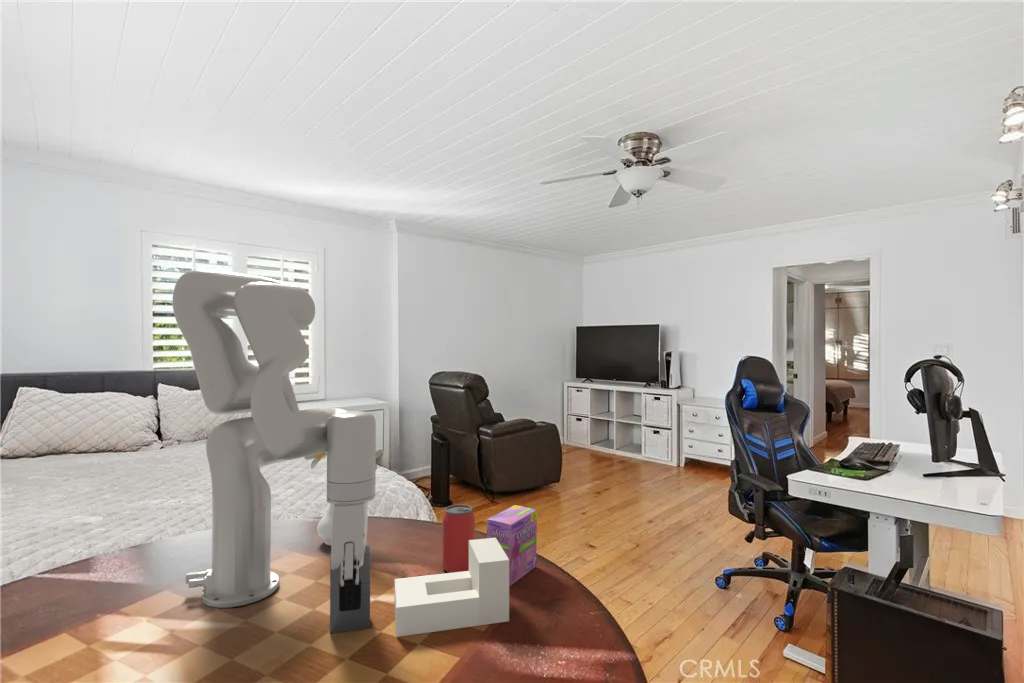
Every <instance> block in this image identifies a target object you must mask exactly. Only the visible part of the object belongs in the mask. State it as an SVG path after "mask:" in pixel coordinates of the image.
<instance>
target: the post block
mask: <svg viewBox="0 0 1024 683" xmlns="http://www.w3.org/2000/svg"><path fill="white" fill-rule="evenodd" d="M394 620H395V637H397V638H399V637H407V636H413V635H420V634H427V633H433V632H434V633H436V632H441V631H442V632H443V631H448V630H456V629H464V628H470V627H478V626H484V625H485V626H486V625H493V624H501V623H506V622H510V586H509V559H508V557H507V555H506V554H505V552H504V550H503V549H502V547H501V545H500V544H499V542H498V541H497V539H496V538H487V537H486V538H479V539H476V538H475V540H469V571H463V572H454V573H449V572H447V573H445V572H444V573H438V574H429V575H427V574H426V575H421V576H419V575H418V576H411V577H410V576H409V577H402V578H394Z"/></svg>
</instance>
